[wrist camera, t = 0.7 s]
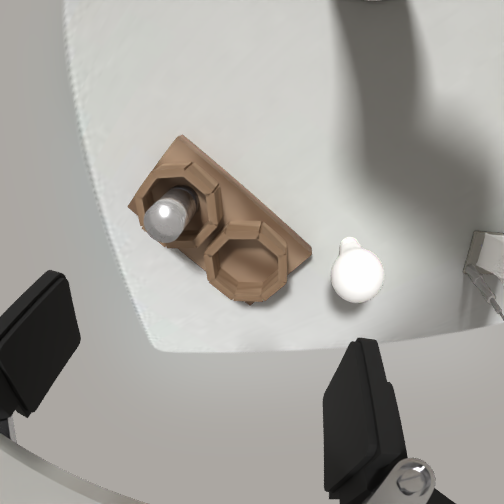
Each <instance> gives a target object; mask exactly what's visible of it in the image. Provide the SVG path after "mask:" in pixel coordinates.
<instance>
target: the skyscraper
mask: <svg viewBox="0 0 504 504" xmlns="http://www.w3.org/2000/svg"><path fill="white" fill-rule="evenodd" d="M463 274H468V275H469V276H470V278H471V280H472V282H473V284H474V285H475V286H477V287H478V288H479V290H480V291H481V293H482V294H483V296H484V298H485V300H486V301H487V303H489V304H492V305H493V307H494V309H495V311H496V312H497V314H500V315H501V317H502V319H503V320H504V316H503V314H502V313H501V312H502V310H501V308H500V307H499V305H498V304H497V302H496V301H495V299H496V296H495V295H494V294H493V292H492V291H491V290H490V288H489V287H488V286H487V284H486V283H485V282H484V278H483V277H482V276H481V274H495V275H496V276H497V277H498V278H499V279H500V281H501V282H502V284H503V287H504V233H494V232H481V231H474V234H473V238H472V242H471V246H470V249H469V253H468V256H467V260H466V263H465V266H464V269H463Z"/></svg>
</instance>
